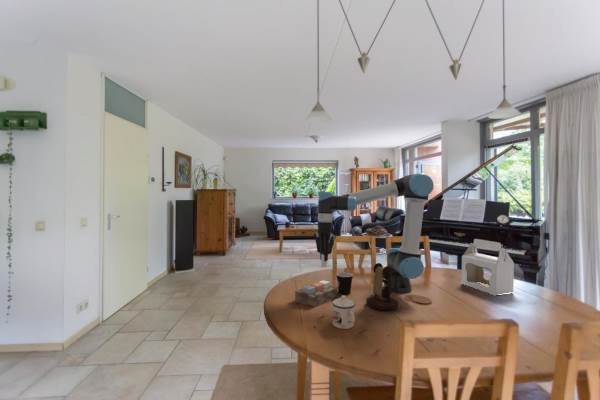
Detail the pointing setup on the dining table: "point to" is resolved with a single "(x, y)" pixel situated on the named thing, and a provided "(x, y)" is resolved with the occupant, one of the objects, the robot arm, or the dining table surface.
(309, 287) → the grey key
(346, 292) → the coffee mug
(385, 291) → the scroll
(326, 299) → the key box
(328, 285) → the cream key
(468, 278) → the gable box
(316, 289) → the terracotta key
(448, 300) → the dining table surface
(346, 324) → the teacup with lid
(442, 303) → the dining table surface
